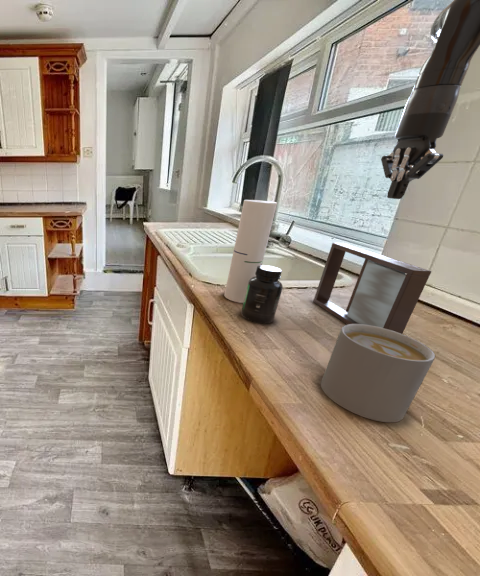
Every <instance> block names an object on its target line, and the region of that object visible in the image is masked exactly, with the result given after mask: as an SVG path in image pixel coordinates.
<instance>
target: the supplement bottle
mask: <svg viewBox="0 0 480 576" xmlns="http://www.w3.org/2000/svg"><path fill="white" fill-rule="evenodd" d="M282 272H283V270H282V269H281V268H280V267H276V266H273V265H265V264H262V265H260V266H257V270H256V273H255V275H256V276H255V277H252V278H251V279H250V280H249V282H248V286H247V290H246V294H245V298H244V303H242V308H241V316H242V317H243V318H244V319H246V320H247V321H250V322H253V323H255V324H264V325H265V324H270V323H272V322H273V321H274V319H275V317H276V313H277V309H278V307H279V303H280V299H281V296H282V292H283V288H284V285H283V284H282V282H281V281H280V280H281V277H282Z"/></svg>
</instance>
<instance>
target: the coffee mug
mask: <svg viewBox="0 0 480 576" xmlns="http://www.w3.org/2000/svg"><path fill="white" fill-rule="evenodd" d="M435 359H436V354H435V353H434V351H433V350H432V349H431V348H430V347H429V346H427V344H424V343H422V342H421V341H418V340H417V339H415V338H413V337H411V336H408V335H407V334H406V335H405V334H404V333H403V334H400V333H398V332H395V331H392V330H388V329H384V328H381V327H376V326H371V325H364V324H348V325H347V324H345V325H343V326H342V327H341V329H340V331H339V334H338V336H337V339H336V341H335V344H334V346H333V349H332V352H331V355H330V357H329V360H328V362H327V364H326V367H325V370H324V373H323V375H322V378H321V381H320V387H321V390H322V391H323V393H324V394H325V395H326V396H327V397H328V398H329V399H330V400H331V401H332V402H334V403H336V404H337V405H338V406H340V407H341V408H343V409H345V410H347V411H349V412H350V413H353V414H354V415H358V416H360V417H363V418H365V419H369V420H371V421H376V422H382V423H398V422H400V421H402V420H403V419H404V417H405V416H406V414H407V412H408V410H409V408H410V406H411V405H412V403H413V401H414V400H415V396H416V395H417V393H418V391H419V389H420V387H421V385H422V383H423V381H424V379H425V378H426V376H427V374H428V372H429V371H430V368H431V366H432V364H433V363H434V361H435Z"/></svg>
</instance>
